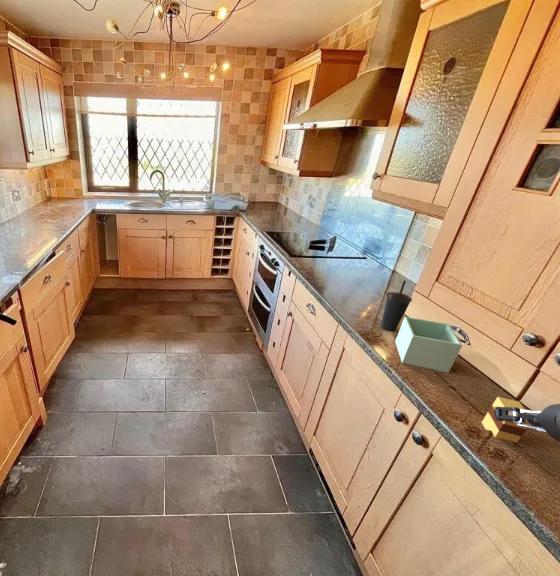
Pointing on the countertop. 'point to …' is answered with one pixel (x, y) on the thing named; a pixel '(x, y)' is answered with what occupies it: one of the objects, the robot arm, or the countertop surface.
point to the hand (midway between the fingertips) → (521, 421)
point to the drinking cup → (394, 309)
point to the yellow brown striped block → (504, 428)
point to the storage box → (427, 344)
